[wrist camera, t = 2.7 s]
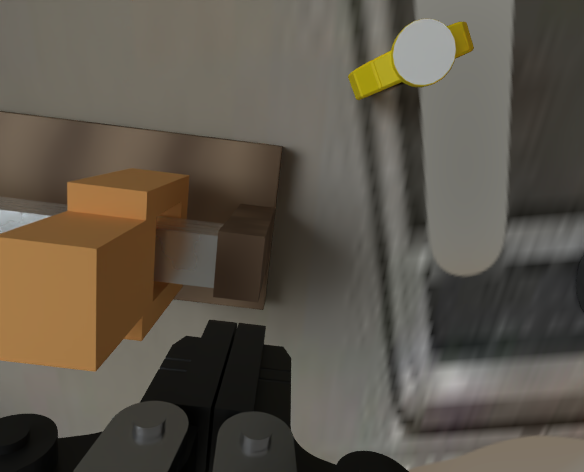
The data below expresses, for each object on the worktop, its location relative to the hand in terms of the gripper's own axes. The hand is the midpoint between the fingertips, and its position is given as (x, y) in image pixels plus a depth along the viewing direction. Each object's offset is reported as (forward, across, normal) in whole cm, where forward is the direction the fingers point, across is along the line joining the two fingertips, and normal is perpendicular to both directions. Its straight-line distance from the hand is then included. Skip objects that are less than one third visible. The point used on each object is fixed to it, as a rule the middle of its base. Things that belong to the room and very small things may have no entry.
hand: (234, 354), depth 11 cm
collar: (+12, +6, 0) cm, 13 cm away
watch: (+16, -6, -10) cm, 20 cm away
